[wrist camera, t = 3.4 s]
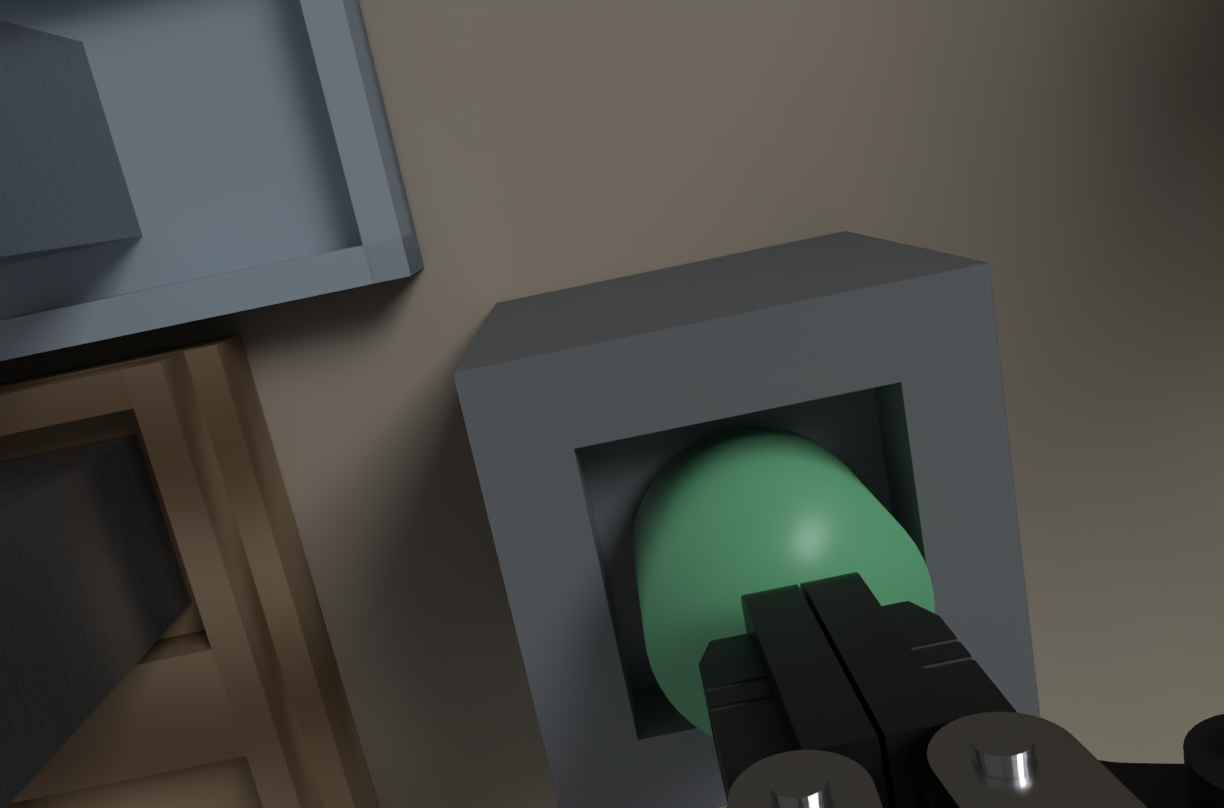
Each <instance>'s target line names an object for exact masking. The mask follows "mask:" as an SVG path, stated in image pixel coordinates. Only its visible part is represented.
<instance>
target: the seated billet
mask: <svg viewBox="0 0 1224 808" xmlns="http://www.w3.org/2000/svg"><path fill="white" fill-rule="evenodd" d="M190 604H191V599H190V596H189V593H188V590H187V587H186V584H185V581H184V578H183V575H182V572H181V569H180V566H179V563H178V560H177V556H176V553H175V550H174V547H173V544H172V541H171V538H170V535H169V532H168V529H167V526H166V523H165V520H164V517H163V513H162V510H161V507H160V504H159V501H158V498H157V495H156V492H155V489H154V486H153V483H152V480H151V477H150V474H149V470H148V467H147V464H146V461H145V458H144V455H143V452H142V449H141V446H140V443H139V440H138V437H137V434H136V433H135V434H130V435H125V436H121V437H116V438H111V439H106V440H101V441H96V442H91V443H87V444H82V445H77V446H72V447H67V448H62V449H57V450H52V451H48V452H43V453H38V454H33V455H28V456H23V457H18V458H14V459H9V460H4V461H0V808H7V807H8V806H9V805H10V803H11V802H12V801H13V800H14V799H15V798H16V797H17V796H18V795H19V793H20V792H21V791H22V790H23V789H24V788H25V787H26V786H27V785H28V784H29V782H30V781H31V780H32V779H33V778H34V777H35V776H36V775H37V774H38V772H39V771H40V770H41V769H42V768H43V767H44V766H45V765H46V764H47V762H48V761H49V760H50V759H51V758H52V757H53V756H54V755H55V754H56V752H57V751H58V750H59V749H60V748H61V747H62V746H63V745H64V744H65V742H66V741H67V740H68V739H69V738H70V737H71V736H72V735H73V734H74V732H75V731H76V730H77V729H78V728H79V727H80V726H81V725H82V724H83V722H84V721H85V720H86V719H87V718H88V717H89V716H90V715H91V714H92V713H93V711H94V710H95V709H96V708H97V707H98V706H99V705H100V704H101V703H102V701H103V700H104V699H105V698H106V697H107V696H108V695H109V694H110V693H111V691H112V690H113V689H114V688H115V687H116V686H117V685H118V684H119V683H120V681H121V680H122V679H123V678H124V677H125V676H126V675H127V674H128V673H129V671H130V670H131V669H132V668H133V667H134V666H135V665H136V664H137V663H138V661H139V660H140V659H141V658H142V657H143V656H144V655H145V654H146V653H147V651H148V650H149V649H150V648H151V647H152V646H153V645H154V644H155V643H156V642H157V640H158V639H159V638H160V637H161V636H162V635H163V634H164V633H165V632H166V630H167V629H168V628H169V627H170V626H171V625H172V624H173V623H174V622H175V620H176V619H177V618H178V617H179V616H180V615H181V614H182V613H183V612H184V610H185V609H186V608H187V607H188V606H189V605H190Z"/></svg>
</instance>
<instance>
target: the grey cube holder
mask: <svg viewBox="0 0 1224 808" xmlns="http://www.w3.org/2000/svg"><path fill="white" fill-rule="evenodd" d="M453 376H454V380H455V384H456V388H457V393H458V397H459V401H460V405H461V409H462V413H463V417H464V421H465V425H466V429H467V433H468V437H469V442H470V446H471V450H472V454H473V458H474V462H475V466H476V470H477V474H478V478H479V482H480V486H481V491H482V495H483V499H484V503H485V507H486V511H487V515H488V519H489V523H490V527H491V531H492V535H493V540H494V544H495V548H496V552H497V556H498V560H499V564H500V568H501V572H502V576H503V580H504V584H505V589H506V593H507V597H508V601H509V605H510V609H511V613H512V617H513V621H514V625H515V629H516V633H517V638H518V642H519V646H520V650H521V654H522V658H523V662H524V666H525V670H526V674H527V678H528V682H529V687H530V691H531V695H532V699H533V703H534V707H535V711H536V715H537V719H538V723H539V727H540V731H541V736H542V740H543V744H544V748H545V752H546V756H547V760H548V764H549V768H550V772H551V776H552V780H553V784H554V789H555V793H556V797H557V801H558V805H559V808H717V807H722V806H727V805H728V803H727V799H726V795H725V791H724V786H723V782H722V778H721V774H720V769H719V764H718V759H717V754H716V749H715V744H714V739H713V737H712V736H710V735H708V734H706V733H705V732H703V731H702V730H700V729H699V728H697V727H696V726H695V725H693V724H692V723H691V722H689V721H688V720H687V719H686V718H685V717H684V716H683V715H682V714H681V713H679V711H678V710H677V709H676V708H675V707H674V706H673V704H672V703H671V702H670V701H669V700H668V698H667V697H666V695H665V694H664V692H663V690H662V689H661V687H660V686H659V684H658V682H657V680H656V677H655V675H654V673H653V671H652V669H651V665H650V662H649V658H648V655H647V651H646V644H645V637H644V630H643V623H642V616H641V608H640V601H639V594H638V587H637V580H636V573H635V566H634V559H633V531H634V524H635V520H636V516H637V513H638V509H639V507H640V504H641V502H642V500H643V497H644V495H645V493H646V491H647V490H648V488H649V486H650V485H651V483H652V481H653V480H654V479H655V477H656V476H657V475H658V474H659V472H660V471H661V470H662V469H663V468H664V467H665V466H666V465H667V464H668V463H669V462H670V461H671V460H672V459H673V458H674V457H675V456H676V455H678V454H679V453H681V452H682V451H683V450H685V449H686V448H687V447H689V446H691V445H692V444H694V443H696V442H698V441H700V440H701V439H704V438H706V437H709V436H711V435H714V434H716V433H719V432H723V431H727V430H731V429H736V428H743V427H771V428H780V429H784V430H788V431H792V432H796V433H798V434H801V435H803V436H806V437H808V438H811V439H812V440H814V441H816V442H818V443H819V444H821V445H823V446H824V447H826V448H827V449H828V450H830V451H831V452H832V453H834V454H835V455H836V456H837V457H838V458H839V459H840V460H841V461H842V462H843V463H844V464H845V465H846V466H847V467H848V468H849V469H850V470H851V471H852V473H853V474H854V475H855V476H856V477H857V478H858V479H859V480H860V481H861V482H862V483H863V485H864V486H865V487H866V488H867V489H868V490H869V491H870V492H871V493H872V494H873V496H874V497H875V498H876V499H877V500H878V501H879V502H880V503H881V504H882V505H883V507H884V508H885V509H886V510H887V511H888V512H889V513H890V514H891V515H892V516H893V517H894V519H895V520H896V521H897V522H898V523H899V524H900V525H901V526H902V527H903V528H904V530H905V531H906V532H907V533H908V535H909V536H910V537H911V539H912V540H913V542H914V543H915V544H916V546H917V548H918V550H919V551H920V553H921V555H922V557H923V559H924V561H925V564H926V566H927V569H928V572H929V575H930V578H931V583H932V587H933V592H934V603H935V614H937V615H939V616H940V617H941V618H942V620H943V621H944V622H945V623H946V625H947V626H948V627H949V628H950V629H951V631H952V632H953V633H954V634H955V636H956V637H957V640H958V642H961V643H962V644H963V646H964V647H965V648H966V649H967V651H968V652H969V653H970V654H971V657H972V660H976V662H977V663H978V664H979V665H980V667H981V668H982V669H983V670H984V672H985V673H986V674H987V675H988V677H989V678H990V679H991V680H992V682H993V683H994V684H995V685H996V686H997V688H998V689H999V690H1000V691H1001V693H1002V694H1003V695H1004V696H1005V698H1006V699H1007V700H1008V701H1009V703H1010V704H1011V705H1012V706H1013V708H1014V709H1015V710H1016V711H1017V713H1022V714H1027V715H1033V716H1036V717H1039V718H1040V711H1039V702H1038V693H1037V684H1036V675H1035V667H1034V658H1033V649H1032V640H1031V631H1030V622H1029V613H1028V605H1027V596H1026V587H1025V578H1024V569H1023V560H1022V552H1021V543H1020V534H1019V525H1018V516H1017V507H1016V499H1015V490H1014V481H1013V472H1012V463H1011V454H1010V446H1009V437H1008V428H1007V419H1006V410H1005V401H1004V392H1003V384H1002V375H1001V366H1000V357H999V348H998V339H997V331H996V322H995V313H994V304H993V295H992V286H991V278H990V269H989V263H987V262H983V261H978V260H974V259H969V258H965V257H960V256H956V255H951V254H947V253H942V252H938V251H933V250H928V249H924V248H919V247H915V246H910V245H906V244H901V243H897V242H892V241H888V240H883V239H878V238H874V237H869V236H865V235H860V234H856V233H851V232H847V231H844V232H839V233H835V234H830V235H825V236H820V237H815V238H810V239H805V240H801V241H796V242H791V243H786V244H781V245H776V246H772V247H767V248H762V249H757V250H752V251H747V252H743V253H738V254H733V255H728V256H723V257H718V258H713V259H709V260H704V261H699V262H694V263H689V264H684V265H680V266H675V267H670V268H665V269H660V270H655V271H651V272H646V273H641V274H636V275H631V276H626V277H621V278H617V279H612V280H607V281H602V282H597V283H592V284H588V285H583V286H578V287H573V288H568V289H563V290H559V291H554V292H549V293H544V294H539V295H534V296H529V297H525V298H520V299H515V300H510V301H505V302H500V303H497V304H496V305H495V307H494V308H493V310H492V312H491V313H490V315H489V316H488V318H487V319H486V321H485V323H484V324H483V326H482V327H481V329H480V331H479V332H478V334H477V335H476V337H475V339H474V340H473V342H472V343H471V345H470V346H469V348H468V350H467V351H466V353H465V354H464V356H463V358H462V359H461V361H460V362H459V364H458V365H457V367H456V369H455V370H454V372H453Z"/></svg>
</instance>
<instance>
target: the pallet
mask: <svg viewBox="0 0 1224 808" xmlns="http://www.w3.org/2000/svg"><path fill="white" fill-rule="evenodd" d="M135 433H136V434H137V437H138V440H139V443H140V446H141V449H142V452H143V455H144V458H145V461H146V464H147V467H148V470H149V474H150V477H151V480H152V483H153V486H154V489H155V492H156V495H157V498H158V501H159V504H160V507H161V510H162V513H163V517H164V520H165V523H166V526H167V529H168V532H169V535H170V538H171V541H172V544H173V547H174V550H175V553H176V556H177V560H178V563H179V566H180V569H181V572H182V575H183V578H184V581H185V584H186V587H187V590H188V593H189V596H190V599H191V604H190V605H189V606H188V607H187V608H186V609H185V610H184V612H183V613H182V614H181V615H180V616H179V617H178V618H177V619H176V620H175V622H174V623H173V624H172V625H171V626H170V627H169V628H168V629H167V630H166V632H165V633H164V634H163V635H162V636H161V637H160V638H159V639H158V640H157V642H156V643H155V644H154V645H153V646H152V647H151V648H150V649H149V650H148V651H147V653H146V654H145V655H144V656H143V657H142V658H141V659H140V660H139V661H138V663H137V664H136V665H135V666H134V667H133V668H132V669H131V670H130V671H129V673H128V674H127V675H126V676H125V677H124V678H123V679H122V680H121V681H120V683H119V684H118V685H117V686H116V687H115V688H114V689H113V690H112V691H111V693H110V694H109V695H108V696H107V697H106V698H105V699H104V700H103V701H102V703H101V704H100V705H99V706H98V707H97V708H96V709H95V710H94V711H93V713H92V714H91V715H90V716H89V717H88V718H87V719H86V720H85V721H84V722H83V724H82V725H81V726H80V727H79V728H78V729H77V730H76V731H75V732H74V734H73V735H72V736H71V737H70V738H69V739H68V740H67V741H66V742H65V744H64V745H63V746H62V747H61V748H60V749H59V750H58V751H57V752H56V754H55V755H54V756H53V757H52V758H51V759H50V760H49V761H48V762H47V764H46V765H45V766H44V767H43V768H42V769H41V770H40V771H39V772H38V774H37V775H36V776H35V777H34V778H33V779H32V780H31V781H30V782H29V784H28V785H27V786H26V787H25V788H24V789H23V790H22V791H21V792H20V793H19V795H18V796H17V797H16V798H15V799H14V800H13V801H12V802H11V803H10V805H9V806H8V807H7V808H379V806H378V803H377V800H376V796H375V793H374V789H373V786H372V783H371V779H370V776H369V772H368V769H367V766H366V762H365V759H364V755H363V752H362V748H361V745H360V742H359V738H358V735H357V731H356V728H355V725H354V721H353V718H352V714H351V711H350V708H349V704H348V701H347V697H346V694H345V691H344V687H343V684H342V680H341V677H340V673H339V670H338V667H337V663H336V660H335V656H334V653H333V650H332V646H331V643H330V639H329V636H328V633H327V629H326V626H325V622H324V619H323V615H322V612H321V609H320V605H319V602H318V598H317V595H316V592H315V588H314V585H313V581H312V578H311V575H310V571H309V568H308V564H307V561H306V558H305V554H304V551H303V547H302V544H301V540H300V537H299V534H298V530H297V527H296V523H295V520H294V517H293V513H292V510H291V506H290V503H289V500H288V496H287V493H286V489H285V486H284V483H283V479H282V476H281V472H280V469H279V465H278V462H277V459H276V455H275V452H274V448H273V445H272V442H271V438H270V435H269V431H268V428H267V425H266V421H265V418H264V414H263V411H262V408H261V404H260V401H259V397H258V394H257V390H256V387H255V384H254V380H253V377H252V373H251V370H250V367H249V363H248V360H247V356H246V353H245V350H244V346H243V343H242V339H241V336H240V334H236V335H231V336H226V337H221V338H216V339H211V340H207V341H202V342H197V343H192V344H187V345H182V346H178V347H173V348H168V349H163V350H158V351H153V352H149V353H144V354H139V355H134V356H129V357H124V358H120V359H115V360H110V361H105V362H100V363H95V364H91V365H86V366H81V367H76V368H71V369H66V370H62V371H57V372H52V373H47V374H42V375H37V376H33V377H28V378H23V379H18V380H13V381H8V382H4V383H0V461H4V460H9V459H14V458H18V457H23V456H28V455H33V454H38V453H43V452H48V451H52V450H57V449H62V448H67V447H72V446H77V445H82V444H87V443H91V442H96V441H101V440H106V439H111V438H116V437H121V436H125V435H130V434H135Z"/></svg>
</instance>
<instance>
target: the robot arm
mask: <svg viewBox="0 0 1224 808" xmlns="http://www.w3.org/2000/svg"><path fill="white" fill-rule="evenodd" d="M741 602H742V610H743V615H744V621H745V626H746V632H747V634H742V635H737V636H732V637H727V638H722V639H717V640H712V641H710V642H709V644H708V646H707V648H706V650H705V652H704V654H703V656H702V658H701V661H700V663H699V669H700V674H701V679H702V684H703V689H704V694H705V699H706V704H707V709H708V714H709V719H710V724H711V729H712V734H713V739H714V744H715V749H716V754H717V759H718V764H719V769H720V774H721V778H722V782H723V786H724V791H725V795H726V799H727V803H728V806H727V808H1224V714H1222V715H1217V716H1214V717H1211V718H1209V719H1206V720H1204V721H1202V722H1200V723H1199V724H1197V725H1195V726H1194V727H1193V728H1192V729H1191V730H1190V731H1189V732H1188V734H1187V735H1186V737H1185V740H1184V745H1183V750H1184V764H1151V763H1117V762H1108V761H1100V760H1097V759H1096V758H1095V757H1094V756H1093V755H1092V754H1091V753H1090V752H1089V751H1088V750H1087V749H1086V748H1085V747H1084V746H1083V745H1082V744H1081V743H1080V742H1079V741H1078V740H1077V739H1076V738H1075V737H1074V736H1073V735H1071V734H1070V733H1069V732H1068V731H1066V730H1065V729H1064V728H1062V727H1060V726H1058V725H1057V724H1055V723H1052V722H1050V721H1048V720H1045V719H1043V718H1039V717H1036V716H1033V715H1027V714H1022V713H1017V711H1016V710H1015V709H1014V708H1013V706H1012V705H1011V704H1010V703H1009V701H1008V700H1007V699H1006V698H1005V696H1004V695H1003V694H1002V693H1001V691H1000V690H999V689H998V688H997V686H996V685H995V684H994V683H993V682H992V680H991V679H990V678H989V677H988V675H987V674H986V673H985V672H984V670H983V669H982V668H981V667H980V665H979V664H978V663H977V662H976V660H972V657H971V654H970V653H969V652H968V651H967V649H966V648H965V647H964V646H963V644H962V643H961V642H958V640H957V637H956V636H955V634H954V633H953V632H952V631H951V629H950V628H949V627H948V626H947V625H946V623H945V622H944V621H943V620H942V618H941V617H940V616H939V615H937V614H935V613H933V612H930V611H928V610H926V609H924V608H922V607H920V606H918V605H916V604H914V603H912V602H910V601H905V602H900V603H895V604H890V605H885V606H881V605H880V603H879V602H878V600H877V599H876V597H875V596H874V594H873V593H872V592H871V590H870V589H869V587H868V586H867V584H866V583H865V581H864V580H863V579H862V577H861V576H860V574H859V573H858V572H853V573H849V574H844V575H839V576H834V577H829V578H824V579H819V580H814V581H809V582H804V583H801V584H800V588H799V586H798V585H797V584H795V585H790V586H785V587H780V588H775V589H770V590H765V591H760V592H755V593H751V594H746V595H741Z"/></svg>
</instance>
